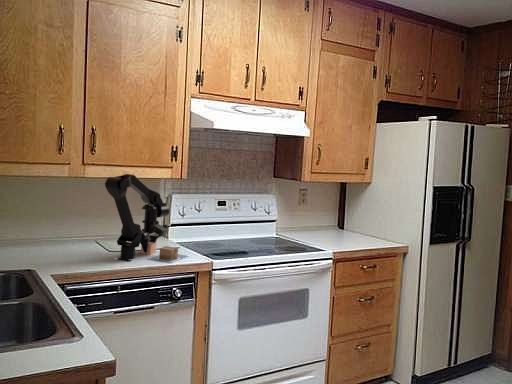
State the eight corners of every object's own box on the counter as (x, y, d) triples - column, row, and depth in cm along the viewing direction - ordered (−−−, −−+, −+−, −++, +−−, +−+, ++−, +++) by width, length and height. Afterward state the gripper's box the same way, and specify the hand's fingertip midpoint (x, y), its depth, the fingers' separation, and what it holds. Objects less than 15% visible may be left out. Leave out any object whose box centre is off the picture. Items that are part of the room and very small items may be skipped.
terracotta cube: (150, 255, 228) (150, 244, 227) (140, 253, 230) (141, 243, 229) (155, 253, 233) (156, 242, 232) (146, 251, 234) (147, 241, 234)
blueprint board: (170, 264, 215) (170, 263, 215) (146, 260, 219) (146, 259, 219) (189, 257, 232) (189, 255, 232) (167, 253, 236) (167, 252, 236)
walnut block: (171, 260, 219) (171, 249, 219) (159, 258, 221) (159, 248, 221) (177, 258, 225) (178, 247, 224) (165, 256, 227) (166, 245, 226)
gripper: (155, 223, 218) (153, 257, 220) (175, 218, 236) (173, 250, 237) (133, 219, 222) (131, 253, 223) (155, 215, 239) (153, 247, 241)
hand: (148, 251), depth 231 cm, fingers closed on terracotta cube, 5 cm apart
